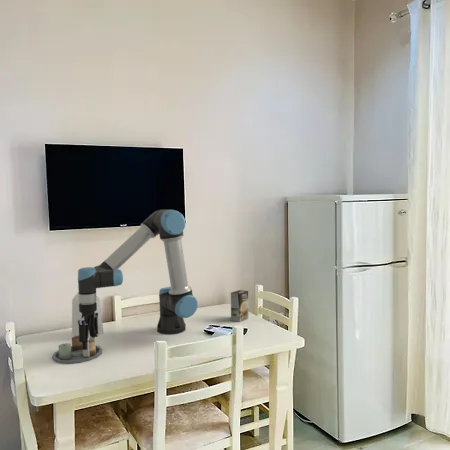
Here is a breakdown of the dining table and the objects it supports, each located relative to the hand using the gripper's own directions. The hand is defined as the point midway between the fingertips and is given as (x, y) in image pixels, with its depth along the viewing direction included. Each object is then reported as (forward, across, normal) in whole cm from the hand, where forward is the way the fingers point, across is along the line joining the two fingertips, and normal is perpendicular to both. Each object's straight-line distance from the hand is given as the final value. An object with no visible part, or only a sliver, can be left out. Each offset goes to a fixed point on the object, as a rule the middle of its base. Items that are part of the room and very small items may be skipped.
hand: (89, 353), depth 191 cm
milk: (+2, -30, -18) cm, 35 cm away
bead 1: (+1, +5, -9) cm, 10 cm away
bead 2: (+1, -5, -9) cm, 10 cm away
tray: (+1, 0, -6) cm, 6 cm away
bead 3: (+1, 0, 0) cm, 1 cm away
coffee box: (+1, -66, +57) cm, 87 cm away
